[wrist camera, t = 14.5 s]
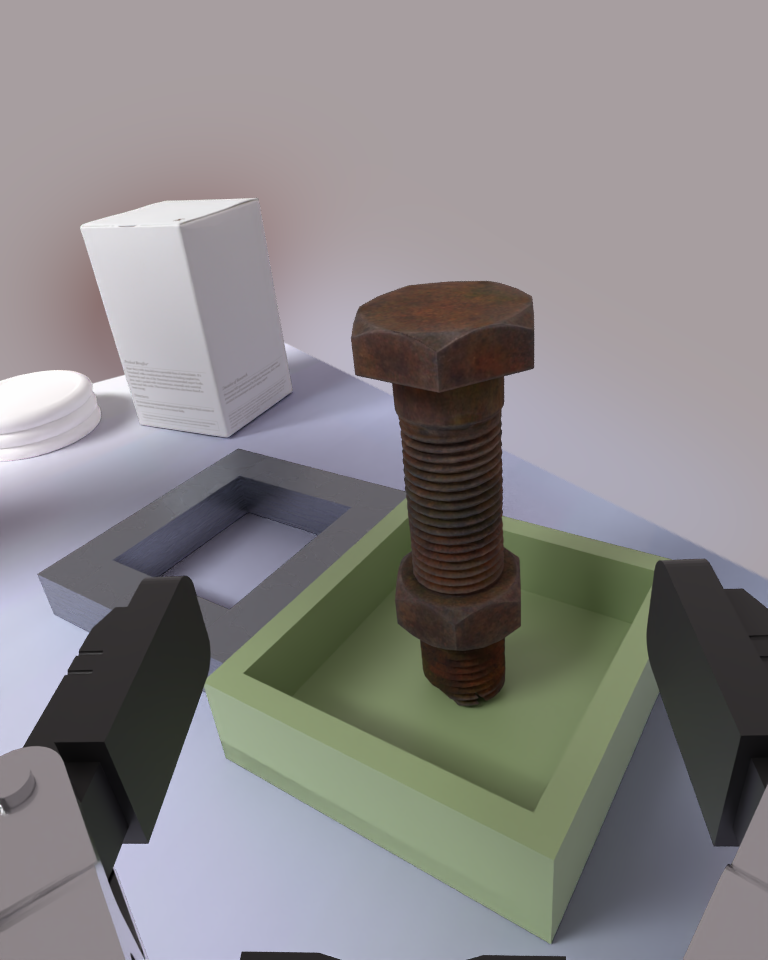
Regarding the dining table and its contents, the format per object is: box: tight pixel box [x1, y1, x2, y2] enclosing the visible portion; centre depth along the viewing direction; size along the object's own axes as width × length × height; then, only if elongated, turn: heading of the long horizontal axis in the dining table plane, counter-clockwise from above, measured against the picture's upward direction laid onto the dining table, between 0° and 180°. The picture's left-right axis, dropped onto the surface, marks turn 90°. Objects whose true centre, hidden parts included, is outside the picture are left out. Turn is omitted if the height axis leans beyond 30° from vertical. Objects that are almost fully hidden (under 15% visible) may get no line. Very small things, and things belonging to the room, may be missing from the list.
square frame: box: [37, 449, 406, 692], centre depth 37 cm, size 13×14×2 cm
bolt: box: [351, 281, 534, 706], centre depth 25 cm, size 6×5×15 cm
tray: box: [204, 498, 672, 944], centre depth 28 cm, size 13×14×4 cm
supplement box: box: [80, 198, 293, 437], centre depth 53 cm, size 9×9×15 cm
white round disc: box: [0, 370, 101, 462], centre depth 55 cm, size 10×10×4 cm
